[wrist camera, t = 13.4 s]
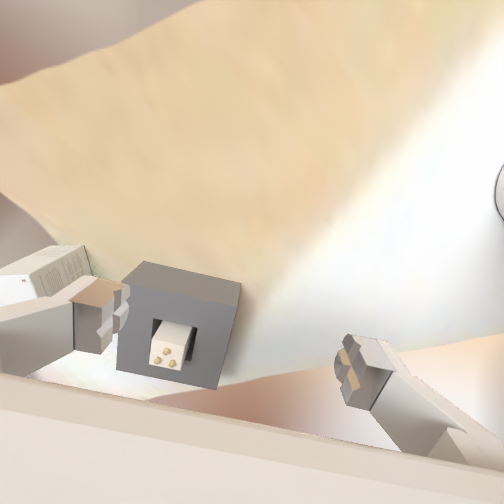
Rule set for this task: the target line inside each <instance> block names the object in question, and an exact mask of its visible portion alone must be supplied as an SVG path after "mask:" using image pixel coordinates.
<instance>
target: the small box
mask: <svg viewBox="0 0 504 504" xmlns="http://www.w3.org/2000/svg"><path fill="white" fill-rule="evenodd" d="M83 275H90V276H92V273H91V269H90V266H89V262H88V259H87V256H86V252H85V249H84V246H83V245H64V246H49V247H46V248H44V249H42V250H40V251H38V252H36V253H33V254H31V255H29V256H27V257H25V258H22V259H20V260H18V261H16V262H14V263H12V264H9V265H7V266H5V267H3V268H1V269H0V307H1V306H6V305H10V304H14V303H19V302H23V301H27V300H32V299H36V298H40V297H45V296H47V297H52V296H53V295H55V294H56V293H58V292H59V291H61V290H62V289H64V288H65V287H67V286H68V285H70V284H71V283H73V282H74V281H75V280H77V279H78V278H80V277H81V276H83Z"/></svg>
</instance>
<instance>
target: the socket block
mask: <svg viewBox="0 0 504 504" xmlns="http://www.w3.org/2000/svg"><path fill="white" fill-rule="evenodd" d="M121 283H123V284H128V285H129V286H130V296H129V297H128V298H127V299H126V302H127V303H128V305H129V313H128V317H127V320H126V322H125V324H124V326H123V327H122V329H121V330H120V331H119V332H118V346H117V364H116V370H119V371H124V372H129V373H134V374H139V375H144V376H149V377H154V378H159V379H164V380H169V381H173V382H178V383H183V384H188V385H193V386H198V387H203V388H208V389H213V390H216V389H217V386H218V382H219V378H220V374H221V370H222V366H223V362H224V358H225V354H226V350H227V346H228V342H229V338H230V334H231V330H232V326H233V323H234V319H235V315H236V311H237V306H238V300H239V294H240V287H241V283H238V282H233V281H229V280H225V279H220V278H216V277H211V276H207V275H203V274H198V273H194V272H189V271H185V270H181V269H176V268H172V267H167V266H163V265H159V264H154V263H150V262H145V261H143V262H142V263H141V264H140V265H139V266H138V267H137V268H135V269H134V270H133V271H132V272H131V273H130V274H129V275H128V276H127V277H126V278H124V279H123V280H122V281H121ZM163 320H164V321H168V322H173V323H177V324H182V325H187V326H191V327H196V328H197V331H196V330H195V333H194V335H193V338H192V341H191V343H190V346H189V349H188V351H187V354H186V357H185V359H184V362H183V365H182V367H181V370H180V371H179V370H174V369H170V368H165V367H160V366H155V365H150V364H149V359H150V351H151V342H152V338H153V337H154V335H155V333H156V331H157V330H158V328H159V326H160V325H161V323H162V321H163Z"/></svg>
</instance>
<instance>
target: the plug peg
mask: <svg viewBox="0 0 504 504" xmlns="http://www.w3.org/2000/svg"><path fill="white" fill-rule="evenodd" d="M195 330H196V327H191V326H187V325H182V324H177V323H173V322H168V321H164V320H163V321H162V323H161V325H160V326H159V328H158V330H157V331H156V333H155V335H154V337H153V338H152V342H151V351H150V359H149V364H150V365H155V366H160V367H165V368H170V369H174V370H179V371H180V370H181V367H182V365H183V362H184V359H185V357H186V354H187V351H188V349H189V346H190V343H191V341H192V338H193V335H194V333H195Z"/></svg>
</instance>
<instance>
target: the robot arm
mask: <svg viewBox="0 0 504 504" xmlns="http://www.w3.org/2000/svg"><path fill="white" fill-rule="evenodd" d="M496 203H497V207H498V210H499V212H500V214H501V215H502V217H503V219H504V167H503V169H502V171H501V173H500V176H499V178H498V182H497V187H496ZM129 296H130V286H129V285H128V284H123V283H119V282H115V281H111V280H107V279H103V278H99V277H94V276H90V275H83V276H81V277H80V278H78V279H77V280H75V281H74V282H73V283H71V284H70V285H68V286H67V287H65V288H64V289H62V290H61V291H59V292H58V293H56V294H55V295H53V296H52V297H47V296H45V297H40V298H36V299H32V300H27V301H23V302H19V303H14V304H10V305H6V306H1V307H0V504H504V446H503V445H502V443H501V442H500V441H499V440H498V439H497V437H496V436H495V435H493V434H492V433H491V432H489V431H488V430H487V429H485V428H484V427H483V426H481V425H480V424H478V423H477V422H476V421H475V420H473V419H472V418H471V417H469V416H468V415H467V414H465V413H464V412H463V411H461V410H460V409H459V408H458V407H456V406H455V405H453V404H452V403H451V402H450V401H448V400H447V399H446V398H444V397H443V396H441V395H440V394H439V393H438V392H436V391H435V390H434V389H432V388H431V387H430V386H428V385H427V384H426V383H424V382H423V381H422V380H420V379H419V378H418V377H416V376H412V374H411V373H410V372H409V370H408V369H407V367H406V366H405V364H404V363H403V362H402V360H401V359H400V357H399V356H398V354H397V353H396V351H395V350H394V348H393V347H392V345H391V344H390V343H388V342H387V341H382V340H377V339H370V338H365V337H361V336H356V335H351V334H347V335H346V336H345V337H344V340H343V342H342V343H343V346H344V348H343V349H341V350H340V351H338V353H337V355H336V358H335V363H334V368H335V374H336V377H337V379H338V380H339V381H340V382H341V383H342V386H341V388H340V389H341V392H342V395H343V397H344V401H345V403H346V405H347V406H351V407H356V408H359V409H363V410H368V411H370V413H371V414H372V416H373V417H374V418H375V419H376V421H377V422H378V423H379V424H380V425H381V427H382V428H383V429H384V430H385V432H386V433H387V434H388V435H389V436H390V438H391V439H392V440H393V441H394V443H395V444H396V445H397V446H398V447H399V448H400V450H401V451H402V452H398V451H393V450H388V449H383V448H378V447H373V446H368V445H363V444H358V443H353V442H348V441H343V440H337V439H333V438H328V437H322V436H318V435H313V434H308V433H303V432H298V431H293V430H288V429H283V428H278V427H273V426H268V425H263V424H258V423H253V422H248V421H243V420H238V419H233V418H227V417H223V416H217V415H213V414H208V413H203V412H197V411H192V410H187V409H182V408H177V407H172V406H167V405H162V404H157V403H152V402H147V401H142V400H137V399H132V398H127V397H122V396H117V395H112V394H107V393H102V392H97V391H92V390H87V389H82V388H77V387H72V386H67V385H62V384H57V383H51V382H46V381H41V380H36V379H31V378H26V377H25V376H27V375H29V374H31V373H33V372H34V371H36V370H38V369H40V368H42V367H44V366H46V365H48V364H50V363H52V362H54V361H56V360H58V359H59V358H61V357H63V356H65V355H67V354H69V353H71V352H73V350H77V351H83V352H89V353H94V354H100V355H101V354H102V352H103V351H104V350H105V349H106V347H107V346H108V345H109V344H110V342H111V341H112V334H115V333H117V332H119V331H120V330H121V329H122V327H123V326H124V324H125V322H126V320H127V317H128V313H129V305H128V303H127V302H126V299H127V298H128V297H129Z"/></svg>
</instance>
